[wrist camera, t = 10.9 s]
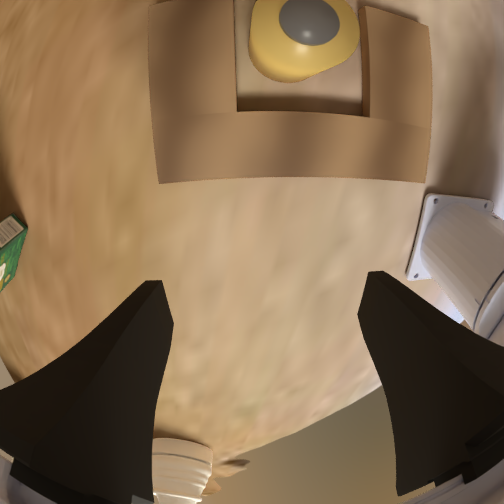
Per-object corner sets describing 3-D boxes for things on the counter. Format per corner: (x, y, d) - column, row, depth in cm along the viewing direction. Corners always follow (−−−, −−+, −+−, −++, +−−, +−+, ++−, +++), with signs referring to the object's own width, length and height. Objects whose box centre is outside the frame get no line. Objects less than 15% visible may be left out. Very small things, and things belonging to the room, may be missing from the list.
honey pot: (152, 449, 45) (143, 516, 29) (147, 432, 38) (135, 515, 23) (209, 459, 46) (206, 527, 31) (216, 444, 40) (213, 528, 25)
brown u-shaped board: (419, 29, 11) (428, 26, 10) (416, 178, 17) (425, 183, 16) (154, 10, 11) (149, 5, 10) (164, 179, 17) (158, 183, 16)
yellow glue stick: (320, 24, 12) (359, -12, 6) (322, 85, 14) (365, 75, 8) (248, 19, 12) (251, -26, 6) (248, 82, 14) (253, 64, 8)
